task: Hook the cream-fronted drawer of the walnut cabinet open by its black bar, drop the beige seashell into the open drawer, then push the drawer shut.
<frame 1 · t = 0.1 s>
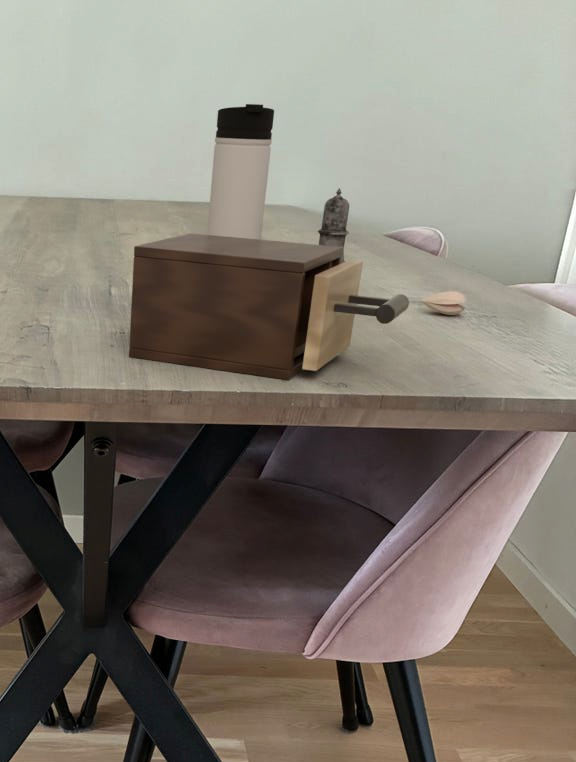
travel mug: (228, 297, 114), on the table
beige seashell: (440, 315, 108), on the table
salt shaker: (323, 299, 115), on the table
cabinet: (230, 354, 86), on the table
drawer: (291, 308, 82), point 5 cm above the table, slide at 0.8 cm
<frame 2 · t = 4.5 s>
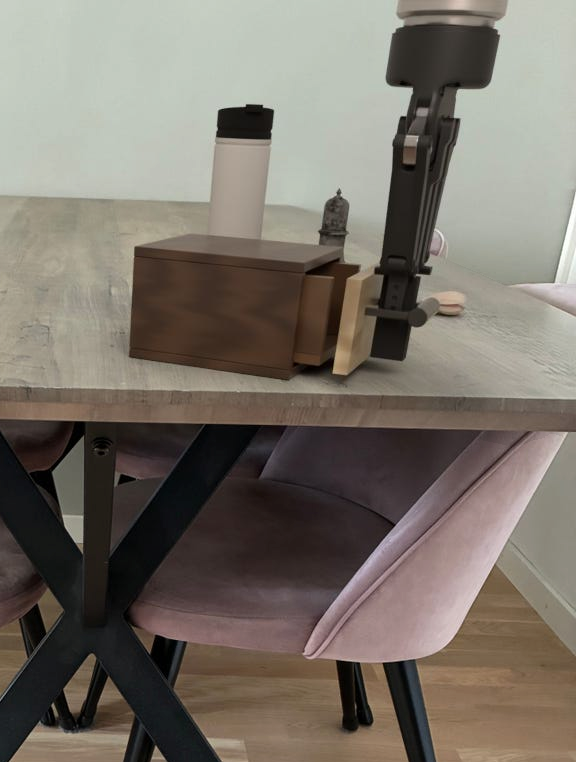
hand: (387, 357, 80), 2 cm above the table, tool pointing down, fingers closed
drawer: (320, 311, 81), point 5 cm above the table, slide at 3.3 cm, touching gripper
everything else where it was.
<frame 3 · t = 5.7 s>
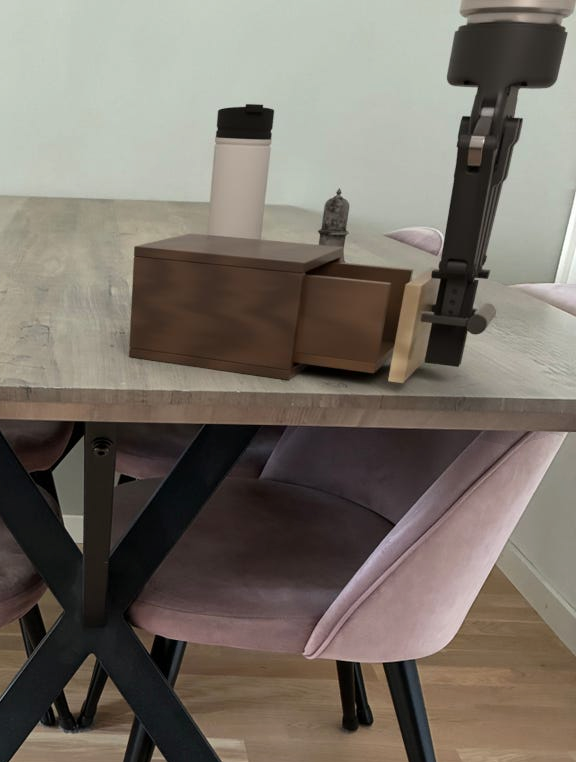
hand: (442, 362, 78), 2 cm above the table, tool pointing down, fingers closed
drawer: (372, 317, 79), point 5 cm above the table, slide at 7.8 cm
everything else where it was.
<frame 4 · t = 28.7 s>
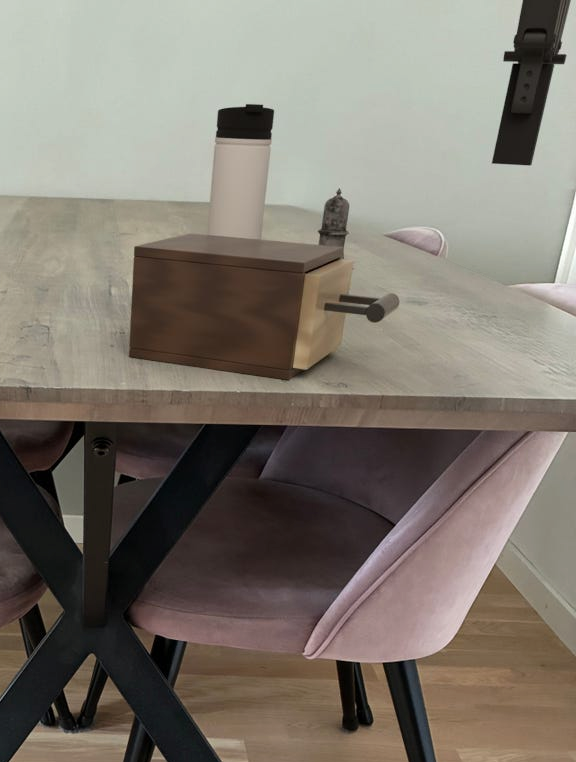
hand: (511, 163, 72), 16 cm above the table, tool pointing down, fingers closed
beige seashell: (266, 338, 84), point 2 cm above the table, touching drawer
drawer: (282, 307, 82), point 5 cm above the table, slide at 0.0 cm, touching beige seashell
everything else where it was.
at the end: drawer slide at 0.0 cm; beige seashell inside the target area in the cabinet (3.2 cm from its centre), point 1.8 cm above the cabinet's base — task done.
